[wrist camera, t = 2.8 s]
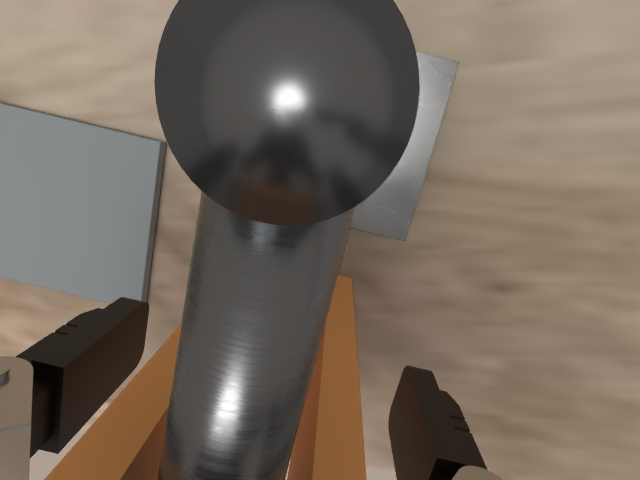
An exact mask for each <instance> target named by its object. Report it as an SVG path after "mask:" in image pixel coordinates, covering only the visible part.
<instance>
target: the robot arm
mask: <svg viewBox="0 0 640 480" xmlns="http://www.w3.org/2000/svg"><path fill="white" fill-rule="evenodd" d="M148 314H149V305H148V303H147V302H143V301H139V300H134V299H130V298H126V297H120V298H119V299H117V300H116V301H114V302H113V303H111V304H110V305H109V306H107V307H106V308H104V309H100V308H98V309H94V310H91V311H88V312H85V313H82V314H80V315H78V316H77V317H75V318H74V319H72V320H71V321H69V322H68V323H67V324H66V325H63V326H62V327H60V328H59V329H57V330H56V331H55V333H51V334H49V335H48V336H46V337H45V338H43V339H42V340H40V341H39V342H37V343H36V344H34V345H33V346H31V347H30V348H28V349H27V350H25V351H24V352H22V353H21V354H19V355H18V356H16V357H10V356H1V357H0V480H29V465H30V458H31V457H32V456H33V455H34V454H35V453H36V451H38V450H39V449H40V450H44V451H48V452H53V453H57V454H58V453H59V452H60V451H61V450H62V449H63V448H64V446H66V444H67V443H68V442H69V441H70V440H71V439H72V438H73V437H74V436H75V435H76V433H77V432H78V431H79V430H80V429H81V428H82V427H83V426H84V425H85V423H86V422H87V421H88V420H89V419H90V418H91V417H92V416H93V415H94V414H95V412H96V411H97V410H98V409H99V408H100V407H101V406H102V405H103V404H104V402H105V401H106V400H107V399H108V398H109V397H110V396H111V395H112V394H113V393H114V391H115V390H116V389H117V388H118V387H119V386H120V385H121V384H122V383H123V382H124V380H125V379H126V378H127V377H128V376H129V375H130V374H131V373H132V372H133V370H134V369H135V368H136V367H137V365H138V363H139V361H140V359H141V357H142V354H143V351H144V345H145V337H146V329H147V322H148ZM464 420H465V418H464V416H463V414H462V411H461V409H460V407H459V405H458V404H457V403H456V402H455V401H454V399H453V398H452V397H451V396H450V395H449V394H448V393H447V392H445V391H441V390H439V387H438V385H437V382H436V380H435V377H434V375H433V373H432V371H429V370H425V369H421V368H416V367H412V366H406V367H405V368H404V370H403V373H402V376H401V379H400V382H399V385H398V388H397V391H396V394H395V397H394V400H393V403H392V406H391V409H390V414H389V435H390V441H391V447H392V453H393V459H394V465H395V471H396V477H397V480H502V479H501V478H499V477H498V476H497V475H495V474H494V473H492V472H490V471H488V470H487V468H486V465H485V463H484V461H483V459H482V456H481V454H480V452H479V450H478V447H477V445H476V443H475V441H474V438H473V436H472V434H471V433H470V429H469V427H468V425H467V423H466V421H464Z"/></svg>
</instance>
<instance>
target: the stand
mask: <svg viewBox="0 0 640 480" xmlns="http://www.w3.org/2000/svg"><path fill="white" fill-rule="evenodd" d="M458 65H459V62H457V61H453V60H449V59H445V58H441V57H437V56H433V55H429V54H424V53H420V52H416V50H415V47H414V43H413V40H412V37H411V33H410V31H409V29H408V27H407V24H406V22H405V20H404V17H403V15H402V14H401V12H400V10H399V9H398V7H397V5H396V4H395V2H394V1H393V0H179V1H178V3H177V4H176V6H175V8H174V9H173V11H172V13H171V15H170V17H169V19H168V21H167V24H166V26H165V28H164V31H163V34H162V38H161V41H160V44H159V48H158V54H157V60H156V67H155V95H156V104H157V109H158V114H159V119H160V123H161V126H162V129H163V132H164V135H165V138H166V140H167V142H168V144H169V146H170V149H171V151H172V153H173V154H174V156H175V158H176V159H177V161H178V163H179V164H180V166H181V168H182V169H183V170H184V171H185V173H186V174H187V175H188V177H189V178H190V179H191V180H192V181H193V182H194V183H195V184H196V185H197V186H198V187H199V188H200V189H201V190H202V194H201V200H200V207H199V213H198V220H197V226H196V233H195V239H194V246H193V252H192V259H191V265H190V272H189V278H188V285H187V291H186V298H185V304H184V311H183V317H182V324H181V330H180V337H179V343H178V350H177V356H176V363H175V369H174V376H173V383H172V389H171V396H170V402H169V409H168V415H167V422H166V428H165V435H164V441H163V448H162V454H161V461H160V467H159V474H158V480H285V477H286V473H287V469H288V465H289V461H290V457H291V454H292V450H293V446H294V442H295V438H296V434H297V430H298V427H299V423H300V419H301V415H302V411H303V407H304V404H305V400H306V396H307V392H308V388H309V384H310V381H311V377H312V373H313V369H314V365H315V361H316V358H317V354H318V350H319V346H320V342H321V338H322V335H323V331H324V327H325V323H326V319H327V315H328V312H329V308H330V304H331V300H332V296H333V292H334V288H335V285H336V281H337V277H338V273H339V269H340V265H341V262H342V258H343V254H344V250H345V246H346V242H347V239H348V235H349V231H350V228H353V229H357V230H361V231H365V232H369V233H373V234H377V235H382V236H386V237H390V238H394V239H398V240H402V241H406V237H407V234H408V231H409V227H410V224H411V221H412V217H413V214H414V211H415V207H416V204H417V201H418V197H419V194H420V191H421V187H422V184H423V181H424V178H425V174H426V171H427V168H428V164H429V161H430V158H431V154H432V151H433V148H434V144H435V141H436V138H437V134H438V131H439V128H440V124H441V121H442V118H443V115H444V111H445V108H446V105H447V101H448V98H449V95H450V91H451V88H452V85H453V81H454V78H455V75H456V71H457V68H458Z"/></svg>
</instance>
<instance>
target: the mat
mask: <svg viewBox="0 0 640 480" xmlns="http://www.w3.org/2000/svg"><path fill="white" fill-rule="evenodd" d="M166 143H167V142H164V141H160V140H156V139H151V138H147V137H143V136H139V135H135V134H131V133H127V132H122V131H118V130H114V129H110V128H106V127H102V126H98V125H93V124H89V123H85V122H81V121H77V120H73V119H69V118H64V117H60V116H56V115H52V114H48V113H44V112H39V111H35V110H31V109H27V108H23V107H19V106H15V105H10V104H6V103H2V102H0V277H2V278H6V279H10V280H14V281H18V282H23V283H27V284H31V285H35V286H39V287H44V288H48V289H52V290H56V291H60V292H64V293H69V294H73V295H77V296H81V297H85V298H90V299H94V300H98V301H102V302H106V303H110V304H111V303H113V302H114V301H116V300H117V299H119V298H120V297H126V298H130V299H134V300H139V301H143V302H147V294H148V286H149V278H150V270H151V262H152V254H153V246H154V238H155V230H156V222H157V214H158V206H159V198H160V190H161V182H162V174H163V167H164V159H165V151H166Z"/></svg>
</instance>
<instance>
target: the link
mask: <svg viewBox="0 0 640 480" xmlns="http://www.w3.org/2000/svg"><path fill="white" fill-rule="evenodd" d="M180 330H181V325H180V326H179V327H178V328H177V330H176V331H175V332H174V333H173V334H172V335H171V336H170V338H169V339H168V340H167V341H166V342H165V343H164V344H163V345H162V347H161V348H160V349H159V350H158V351H157V352H156V353H155V355H154V356H153V357H152V358H151V359H150V360H149V361H148V362H147V364H146V365H145V366H144V367H143V368H142V369H141V370H140V372H139V373H138V374H137V375H136V376H135V377H134V378H133V380H132V381H131V382H130V383H129V384H128V385H127V386H126V387H125V389H124V390H123V391H122V392H121V393H120V394H119V395H118V397H117V398H116V399H115V400H114V401H113V402H112V403H111V404H110V406H109V407H108V408H107V409H106V410H105V411H104V412H103V414H102V415H101V416H100V417H99V418H98V419H97V420H96V421H95V423H94V424H93V425H92V426H91V427H90V428H89V429H88V431H87V432H86V433H85V434H84V435H83V436H82V437H81V439H80V440H79V441H78V442H77V443H76V444H75V445H74V446H73V448H72V449H71V450H70V451H69V452H68V453H67V454H66V456H65V457H64V458H63V459H62V460H61V461H60V463H59V464H58V465H57V466H56V467H55V468H54V469H53V470H52V471H51V473H50V474H49V475H48V476H47V477H46V478H45V479H44V480H158V474H159V467H160V461H161V454H162V448H163V441H164V435H165V428H166V422H167V415H168V409H169V402H170V396H171V389H172V383H173V376H174V369H175V363H176V356H177V350H178V343H179V337H180ZM287 480H366V469H365V454H364V440H363V426H362V412H361V399H360V385H359V371H358V357H357V343H356V329H355V315H354V301H353V287H352V278H351V277H347V276H342V275H338V277H337V281H336V285H335V288H334V292H333V296H332V300H331V304H330V308H329V312H328V315H327V319H326V323H325V327H324V331H323V335H322V338H321V342H320V346H319V350H318V354H317V358H316V361H315V365H314V369H313V373H312V377H311V381H310V384H309V388H308V392H307V396H306V400H305V404H304V407H303V411H302V415H301V419H300V423H299V427H298V430H297V434H296V438H295V442H294V446H293V450H292V454H291V460H290V467H289V473H288V479H287Z"/></svg>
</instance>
